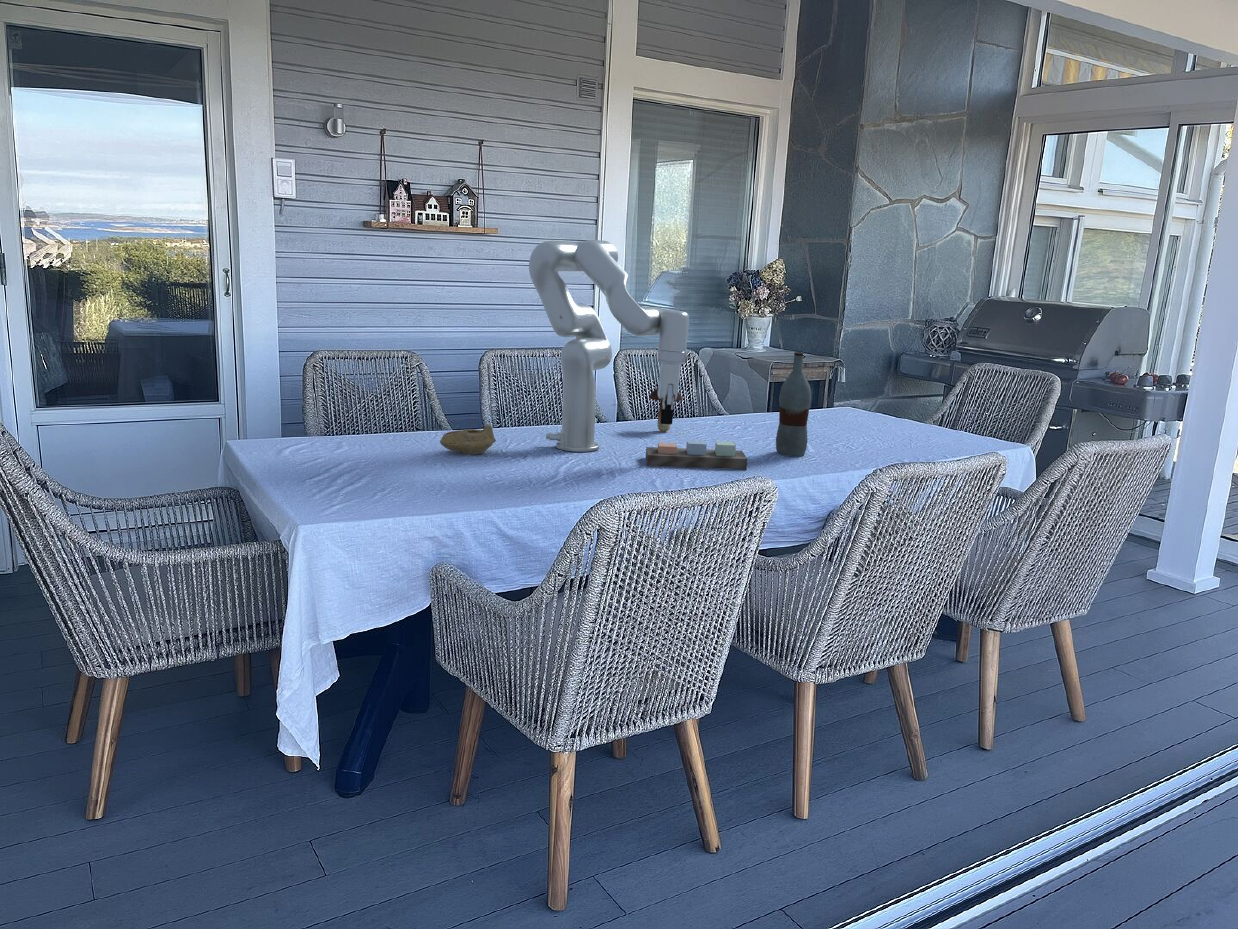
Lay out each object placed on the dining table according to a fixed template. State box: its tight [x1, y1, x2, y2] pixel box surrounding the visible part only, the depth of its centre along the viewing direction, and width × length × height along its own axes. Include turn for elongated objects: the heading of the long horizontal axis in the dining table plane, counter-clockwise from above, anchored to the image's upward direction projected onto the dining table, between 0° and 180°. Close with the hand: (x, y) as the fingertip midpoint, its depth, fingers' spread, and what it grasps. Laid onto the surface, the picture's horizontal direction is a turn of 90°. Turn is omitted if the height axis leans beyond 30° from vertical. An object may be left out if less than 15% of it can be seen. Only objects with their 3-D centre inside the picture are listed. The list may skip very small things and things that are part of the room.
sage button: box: [714, 440, 737, 456], centre depth 266 cm, size 5×5×4 cm
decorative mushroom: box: [648, 387, 683, 433], centre depth 311 cm, size 11×11×15 cm
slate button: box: [685, 439, 707, 455], centre depth 266 cm, size 5×5×4 cm
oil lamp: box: [439, 424, 497, 456], centre depth 267 cm, size 11×15×8 cm
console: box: [645, 446, 748, 471], centre depth 267 cm, size 27×11×3 cm, turn 91°
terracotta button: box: [657, 442, 678, 454], centre depth 266 cm, size 5×5×4 cm
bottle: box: [775, 351, 812, 457], centre depth 283 cm, size 9×9×30 cm
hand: (666, 423), depth 265 cm, fingers closed
